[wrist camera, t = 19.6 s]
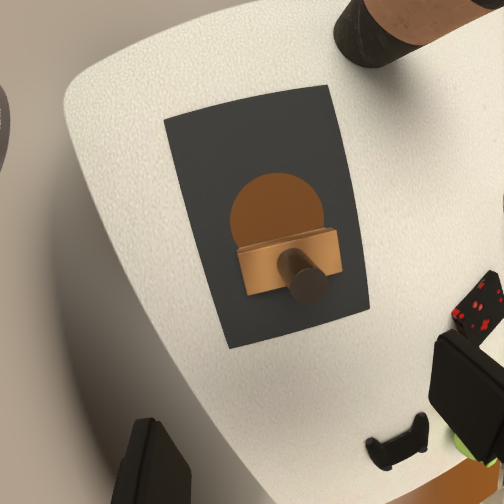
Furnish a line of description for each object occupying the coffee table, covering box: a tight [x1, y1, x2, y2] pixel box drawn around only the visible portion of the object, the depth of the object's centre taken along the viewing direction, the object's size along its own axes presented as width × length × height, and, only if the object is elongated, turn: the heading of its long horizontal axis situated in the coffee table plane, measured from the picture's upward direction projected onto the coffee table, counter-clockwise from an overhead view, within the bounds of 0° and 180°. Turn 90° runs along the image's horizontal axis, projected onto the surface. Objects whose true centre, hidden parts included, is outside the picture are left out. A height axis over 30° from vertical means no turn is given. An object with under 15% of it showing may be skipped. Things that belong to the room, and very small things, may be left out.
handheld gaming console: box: [452, 270, 504, 348], centre depth 30 cm, size 9×12×10 cm
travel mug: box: [334, 0, 504, 68], centre depth 16 cm, size 8×8×20 cm
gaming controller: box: [366, 412, 429, 471], centre depth 38 cm, size 11×4×7 cm
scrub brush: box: [237, 227, 342, 305], centre depth 26 cm, size 9×4×9 cm, turn 103°
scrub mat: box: [164, 85, 370, 349], centre depth 29 cm, size 16×24×1 cm, turn 14°
